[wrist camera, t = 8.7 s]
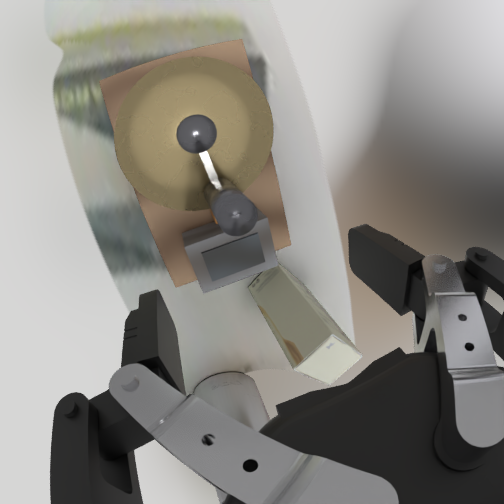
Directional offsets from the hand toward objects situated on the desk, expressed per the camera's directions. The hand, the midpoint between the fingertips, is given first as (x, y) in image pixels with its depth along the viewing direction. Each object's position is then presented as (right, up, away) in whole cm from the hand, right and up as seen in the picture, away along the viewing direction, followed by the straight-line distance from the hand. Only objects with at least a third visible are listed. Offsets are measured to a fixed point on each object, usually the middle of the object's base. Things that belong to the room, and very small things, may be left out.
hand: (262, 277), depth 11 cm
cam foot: (-5, +10, +10) cm, 15 cm away
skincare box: (+3, -3, +21) cm, 22 cm away
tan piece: (-5, +9, +13) cm, 16 cm away
